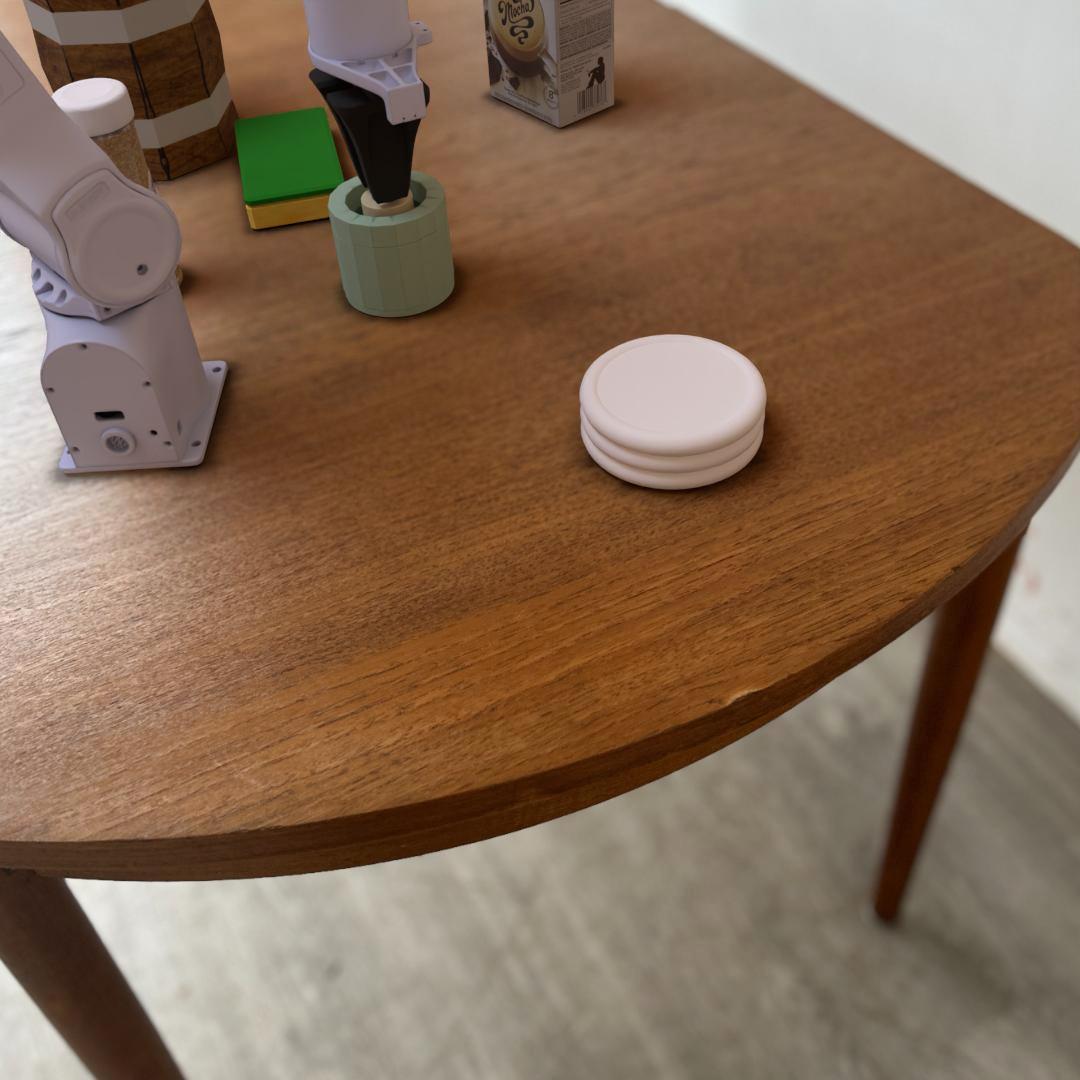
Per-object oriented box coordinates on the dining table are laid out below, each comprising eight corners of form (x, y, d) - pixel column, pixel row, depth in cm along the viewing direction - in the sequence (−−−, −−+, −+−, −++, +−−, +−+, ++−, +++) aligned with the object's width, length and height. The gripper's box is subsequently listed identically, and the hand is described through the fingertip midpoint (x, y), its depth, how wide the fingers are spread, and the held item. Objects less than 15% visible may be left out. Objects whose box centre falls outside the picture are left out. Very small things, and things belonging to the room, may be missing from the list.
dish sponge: (329, 134, 95) (324, 104, 94) (350, 215, 86) (345, 184, 84) (240, 148, 94) (233, 118, 93) (251, 232, 85) (243, 200, 83)
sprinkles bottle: (194, 289, 80) (136, 92, 70) (128, 313, 78) (60, 114, 69) (170, 261, 82) (111, 68, 73) (106, 283, 81) (37, 88, 71)
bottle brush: (424, 237, 75) (400, 62, 67) (376, 250, 74) (347, 75, 67) (407, 215, 77) (382, 43, 70) (360, 227, 76) (330, 55, 69)
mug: (256, 161, 93) (209, -43, 82) (79, 198, 90) (6, -8, 79) (219, 68, 106) (174, -117, 96) (64, 98, 103) (0, -90, 93)
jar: (453, 313, 76) (442, 221, 71) (340, 320, 76) (322, 229, 71) (455, 254, 81) (445, 165, 76) (350, 261, 81) (333, 172, 77)
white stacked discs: (562, 397, 69) (559, 347, 66) (726, 367, 70) (730, 317, 68) (608, 510, 62) (607, 458, 59) (790, 474, 63) (796, 422, 61)
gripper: (467, -17, 60) (489, 225, 70) (375, -91, 70) (405, 129, 80) (335, 12, 59) (376, 256, 68) (259, -69, 68) (304, 155, 78)
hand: (385, 190), depth 74 cm, fingers closed on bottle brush, 2 cm apart
